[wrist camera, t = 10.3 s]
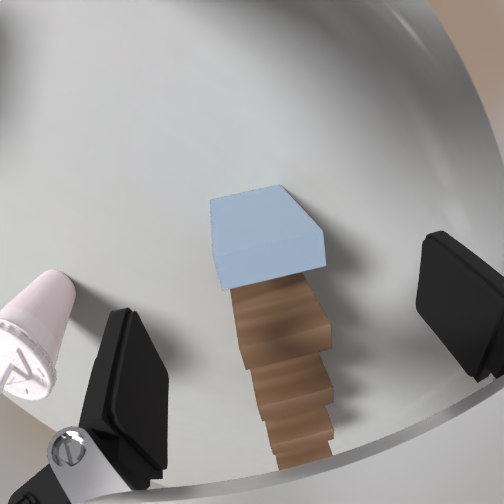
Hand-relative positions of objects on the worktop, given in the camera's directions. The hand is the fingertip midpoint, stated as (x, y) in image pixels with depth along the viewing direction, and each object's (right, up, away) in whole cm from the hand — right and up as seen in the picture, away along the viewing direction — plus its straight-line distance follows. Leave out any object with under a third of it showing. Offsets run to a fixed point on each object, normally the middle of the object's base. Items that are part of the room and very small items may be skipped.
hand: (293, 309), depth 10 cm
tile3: (0, -5, +18) cm, 18 cm away
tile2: (-1, 0, +15) cm, 15 cm away
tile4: (+2, -9, +20) cm, 22 cm away
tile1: (-2, +5, +13) cm, 14 cm away
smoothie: (-18, -1, +14) cm, 22 cm away
